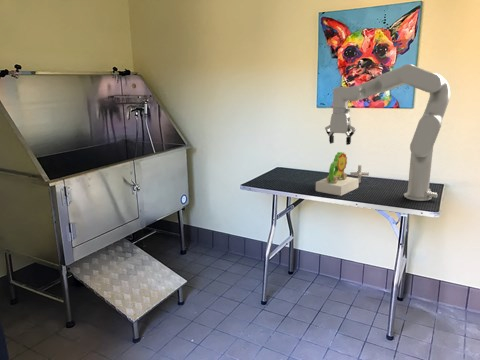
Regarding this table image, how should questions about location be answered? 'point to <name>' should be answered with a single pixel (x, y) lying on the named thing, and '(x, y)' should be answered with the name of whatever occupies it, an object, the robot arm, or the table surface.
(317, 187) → the cream step
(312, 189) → the table surface
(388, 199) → the table surface
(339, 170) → the toy lion
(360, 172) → the pipe connector
